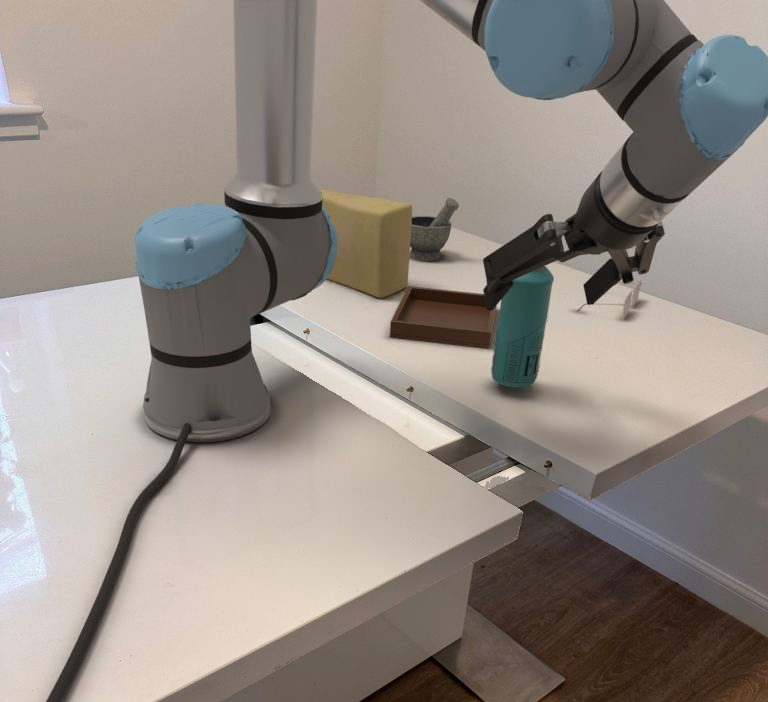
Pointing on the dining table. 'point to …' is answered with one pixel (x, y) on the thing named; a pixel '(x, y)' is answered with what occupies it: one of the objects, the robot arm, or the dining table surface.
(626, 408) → the dining table surface
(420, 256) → the mortar and pestle
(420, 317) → the tray
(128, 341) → the dining table surface
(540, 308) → the beverage bottle
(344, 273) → the cheese
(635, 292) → the eyeglasses
